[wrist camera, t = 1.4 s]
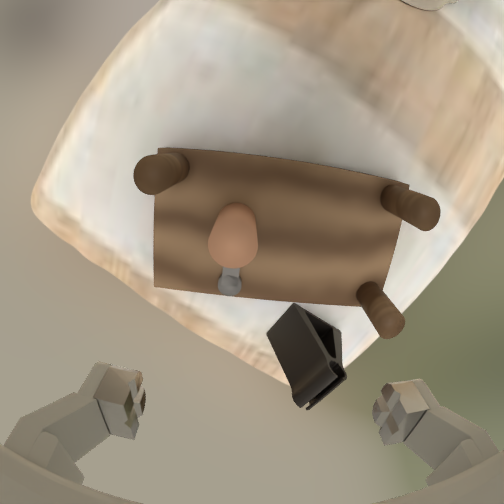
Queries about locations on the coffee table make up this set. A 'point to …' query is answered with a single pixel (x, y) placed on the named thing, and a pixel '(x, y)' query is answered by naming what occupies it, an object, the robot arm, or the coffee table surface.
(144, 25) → the coffee table surface
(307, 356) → the phone stand
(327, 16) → the coffee table surface
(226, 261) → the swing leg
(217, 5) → the coffee table surface
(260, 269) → the stool base
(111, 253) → the coffee table surface
